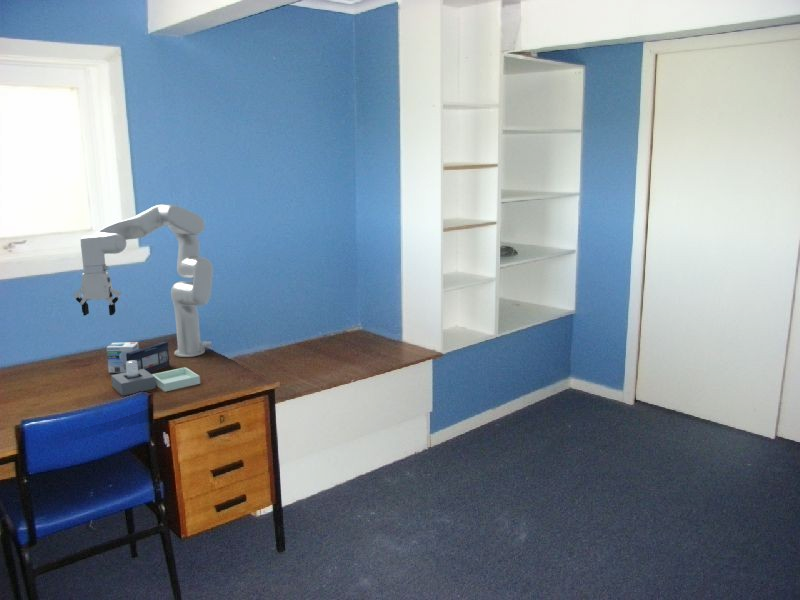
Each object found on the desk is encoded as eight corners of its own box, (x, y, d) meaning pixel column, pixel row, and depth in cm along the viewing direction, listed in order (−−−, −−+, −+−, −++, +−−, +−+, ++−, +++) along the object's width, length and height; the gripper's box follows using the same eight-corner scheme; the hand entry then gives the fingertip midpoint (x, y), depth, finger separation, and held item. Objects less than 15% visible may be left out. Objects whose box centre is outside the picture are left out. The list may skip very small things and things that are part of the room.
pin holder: (144, 379, 263) (143, 368, 262) (155, 388, 254) (154, 376, 253) (112, 386, 255) (111, 375, 254) (122, 395, 246) (121, 383, 245)
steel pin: (137, 384, 257) (135, 359, 255) (141, 387, 254) (138, 362, 252) (126, 387, 255) (124, 361, 253) (130, 390, 252) (127, 364, 250)
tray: (186, 374, 269) (185, 367, 268) (200, 383, 258) (199, 375, 258) (151, 382, 260) (150, 374, 260) (164, 391, 250) (164, 383, 249)
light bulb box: (108, 373, 271) (105, 347, 269) (114, 367, 278) (112, 342, 275) (135, 372, 271) (133, 346, 269) (141, 367, 278) (138, 341, 276)
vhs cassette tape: (132, 378, 264) (129, 354, 262) (127, 377, 266) (124, 353, 264) (170, 366, 279) (168, 342, 277) (165, 364, 281) (163, 341, 279)
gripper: (122, 267, 255) (126, 312, 259) (75, 267, 255) (80, 312, 259) (114, 271, 248) (118, 316, 251) (66, 271, 248) (71, 317, 251)
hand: (99, 314), depth 255 cm, fingers open, 9 cm apart
